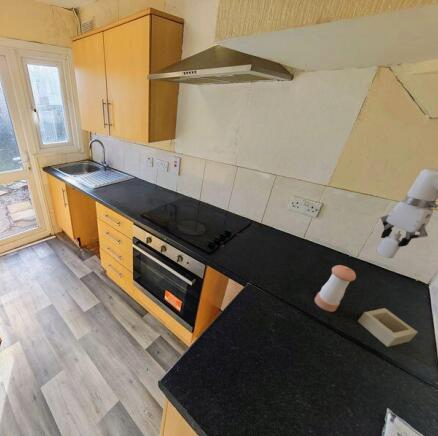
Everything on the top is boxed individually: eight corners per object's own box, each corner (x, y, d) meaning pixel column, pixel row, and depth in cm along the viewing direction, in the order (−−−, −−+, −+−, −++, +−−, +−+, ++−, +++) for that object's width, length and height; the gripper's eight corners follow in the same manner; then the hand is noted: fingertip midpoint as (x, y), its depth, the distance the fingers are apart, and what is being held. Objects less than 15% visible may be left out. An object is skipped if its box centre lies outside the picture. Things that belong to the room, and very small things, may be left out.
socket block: (377, 316, 86) (384, 308, 84) (409, 341, 78) (418, 332, 75) (357, 321, 84) (364, 312, 82) (387, 347, 76) (395, 337, 73)
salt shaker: (334, 315, 86) (359, 277, 77) (312, 304, 91) (333, 267, 81) (337, 303, 91) (360, 267, 82) (316, 294, 95) (336, 258, 86)
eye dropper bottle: (387, 252, 99) (402, 228, 93) (394, 259, 94) (410, 235, 89) (374, 249, 100) (388, 226, 95) (381, 257, 96) (396, 233, 90)
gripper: (456, 211, 79) (425, 253, 87) (399, 193, 94) (377, 230, 102) (441, 212, 77) (410, 255, 86) (385, 194, 92) (364, 231, 101)
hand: (392, 241), depth 94 cm, fingers closed on eye dropper bottle, 5 cm apart
